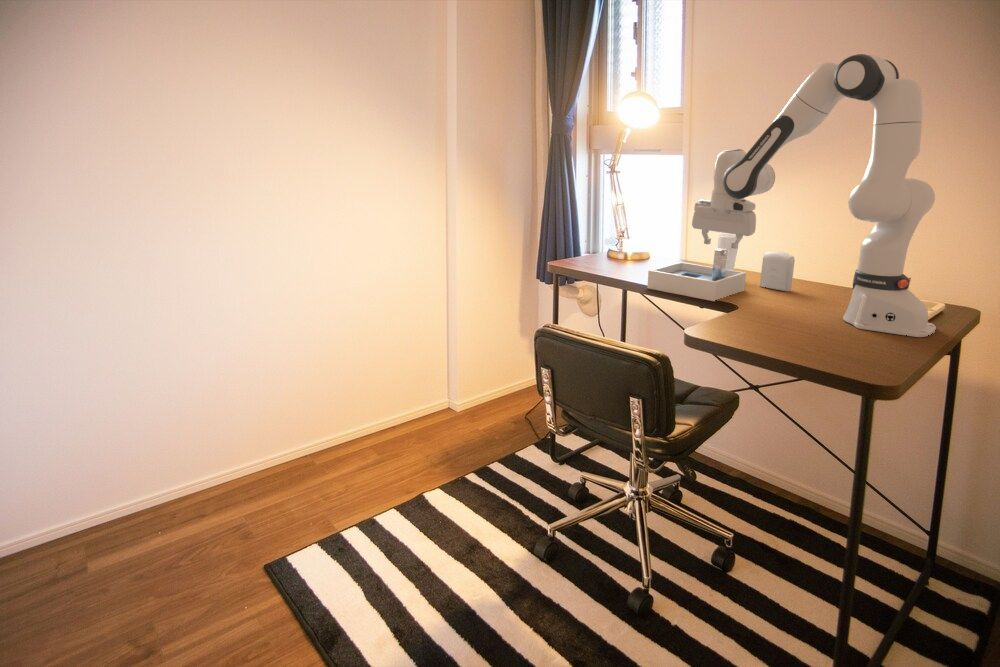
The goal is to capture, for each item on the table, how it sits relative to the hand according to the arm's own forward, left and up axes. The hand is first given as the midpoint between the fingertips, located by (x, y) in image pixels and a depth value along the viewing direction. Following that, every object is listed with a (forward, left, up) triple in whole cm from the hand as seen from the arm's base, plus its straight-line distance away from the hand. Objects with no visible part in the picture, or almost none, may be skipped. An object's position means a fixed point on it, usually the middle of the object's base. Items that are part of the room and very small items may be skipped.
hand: (720, 246), depth 228 cm
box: (+6, +3, -15) cm, 16 cm away
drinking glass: (+7, -19, -15) cm, 25 cm away
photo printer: (-12, -17, -15) cm, 26 cm away
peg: (0, 0, -11) cm, 11 cm away
